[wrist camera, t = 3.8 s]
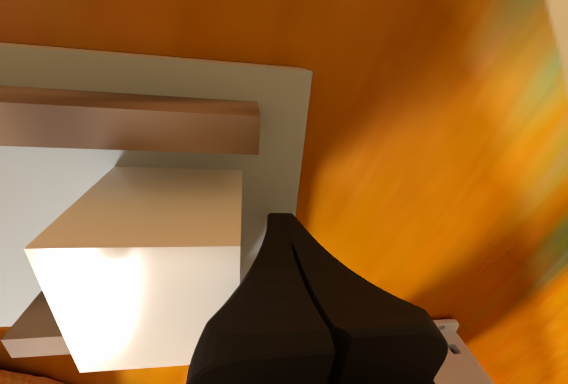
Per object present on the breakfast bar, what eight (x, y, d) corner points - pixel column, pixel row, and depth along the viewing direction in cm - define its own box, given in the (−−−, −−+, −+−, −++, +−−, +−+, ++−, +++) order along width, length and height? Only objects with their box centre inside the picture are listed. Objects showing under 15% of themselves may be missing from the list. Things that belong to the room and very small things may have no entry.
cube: (242, 169, 11) (240, 246, 7) (241, 261, 14) (239, 361, 9) (114, 166, 11) (23, 248, 6) (135, 263, 13) (79, 372, 9)
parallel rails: (257, 101, 10) (260, 116, 8) (250, 299, 15) (250, 342, 13) (-54, 81, 9) (-154, 93, 7) (48, 308, 14) (11, 358, 11)
